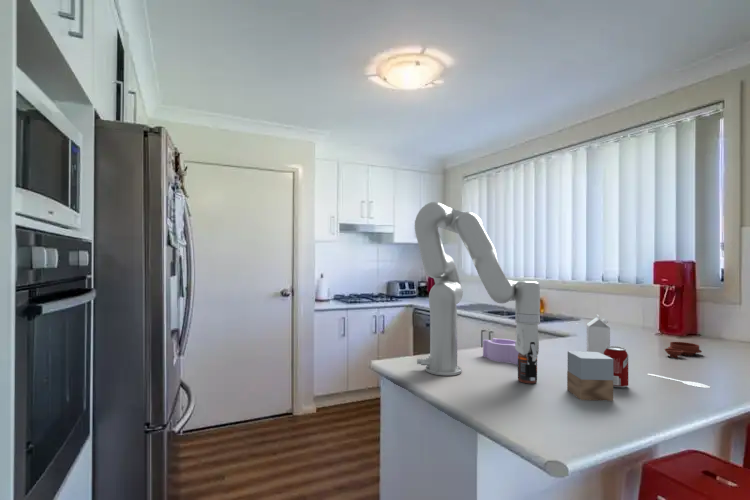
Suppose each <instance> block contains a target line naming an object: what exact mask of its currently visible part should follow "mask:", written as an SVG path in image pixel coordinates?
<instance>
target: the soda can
mask: <svg viewBox="0 0 750 500" xmlns="http://www.w3.org/2000/svg"><path fill="white" fill-rule="evenodd" d="M604 355H606V356H608V357H610V358H612V359H613V389H615V388H616V389H625V388H628V387H629V354H628V352H627V348H625V347H623V346H616V345H615V346H614V345H610V346H606V350H605V351H604Z"/></svg>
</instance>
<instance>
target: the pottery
mask: <svg viewBox="0 0 750 500" xmlns="http://www.w3.org/2000/svg"><path fill="white" fill-rule="evenodd" d="M669 344H670V345H669V346H668V347H666V348H664V351H665V352H666V354H668V356H669V358H673V359H676V358H677V359H678V358H679V356H681V355H683V356H694V355H695V354H700V353H702V352H703V351H702V350H701V349H700V345H699V344H696V343H692V342H686V341H685V342H684V341H671V342H669Z"/></svg>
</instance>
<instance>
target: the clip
mask: <svg viewBox="0 0 750 500" xmlns="http://www.w3.org/2000/svg"><path fill="white" fill-rule="evenodd" d="M518 354H519V352H518V351H517V350H516V349H515V340H514V339H509V338H496V337H492V338H491V339H483V340H482V357H484V358H487V359H488V360H491V361H494V362H499V363H508V364H509V363H510V364H515V365H517V366H518Z"/></svg>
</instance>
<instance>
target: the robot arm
mask: <svg viewBox="0 0 750 500" xmlns="http://www.w3.org/2000/svg"><path fill="white" fill-rule="evenodd" d="M439 228H440V229H444V230H446V231H449V232H453V233H455V234H458V236H459V237H460V240H461V241H462V243H463V245H464V247H465V249H466V251H467V252H468V254H469V256H470V258H471V260H472V262H473V263H472V264H473V265H474V268H475V269H476V272H477V274H478V276H479V279H480V281H481V283H482V284H483V286H484V288H485V290H486V291H487V294H488V295H489V297H490V298H491V300H492V301H493V302H495V303H497V304H506V303H508V302H512V301H513V302H514V301H515V303H514V304H515V305H514V306H515V314H514V316H515V323H516V326H515V338H514V339H515V349H516V350H517V351H518V352H519V353H521V354H522V355H525V354H526V362H527V364H525V376H526V377H534V378H535V377H536V364H537V365H538V355H539V352H540V351H539V350H540V349H539V348H540V345H539V344H540V343H539V339H540V338H539V326H538V325H540V324H541V286H540V283H539V282H538V281H534V280H519V281H518V280H517V281H516V280H511V279H508V278H507V277H506V274H505V273H504V271H503V269H502V267H501V265H500V263H499V260H498V256H497V251H496V248H495V245H494V244H493V242H492V241H491V239H490V237H489V235H488V233H487V232H486V230H485V228H484V223H483V220H482V219H481V217H480V216H479V215H478V214H476V213H474V212H472V211H462V210H460V209H456V208H453V207H450V206H447V205H446V204H443V203H442V202H438V201H431V202H429V203H427V204H425V205H424V206H423V207H421V208H420V210H419V211H418V213H417V214H416V217H415V220H414V233H415V236H416V240H417V244H418V248H419V253H420V257H421V261H422V265H423V269H424V272H425V273H426V275H427V277H429V278H432V279H433V280H434V281H433V282H434V285H433V286H432V287H431V288H430V291H429V293H428V303H429V304H428V306H429V315H430V316H429V320H430V323H429V326H430V327H429V328H430V330H429V336H430V338H429V339H430V344H429V345H430V346H429V351H430V352H429V355H428V358H427V357H426V358H424V359H423V358H417V359H416V365H420V366H425V371H426V372H427V373H429V374H432V375H437V376H442V377H443V376H444V377H445V376H451V377H452V376H457V375H460V374H461V373H462V372H463V371H462V369H463V368H462V367H460V366H458V309H457V304H459V303H460V302H461V300H462V299H463V292H464V291H463V288H462V284H461V280H460V276H459V272H458V268H457V265H456V263H455V259H454V258H453V257H452V256H451V255H449V254H448V253H446V250H445V248H444V244H443V241H442V238H441V234H440V232H439ZM528 353H531V354H532V355H531V354H528ZM529 357H530V359H529ZM536 359H537V360H536ZM536 361H537V363H536Z"/></svg>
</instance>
